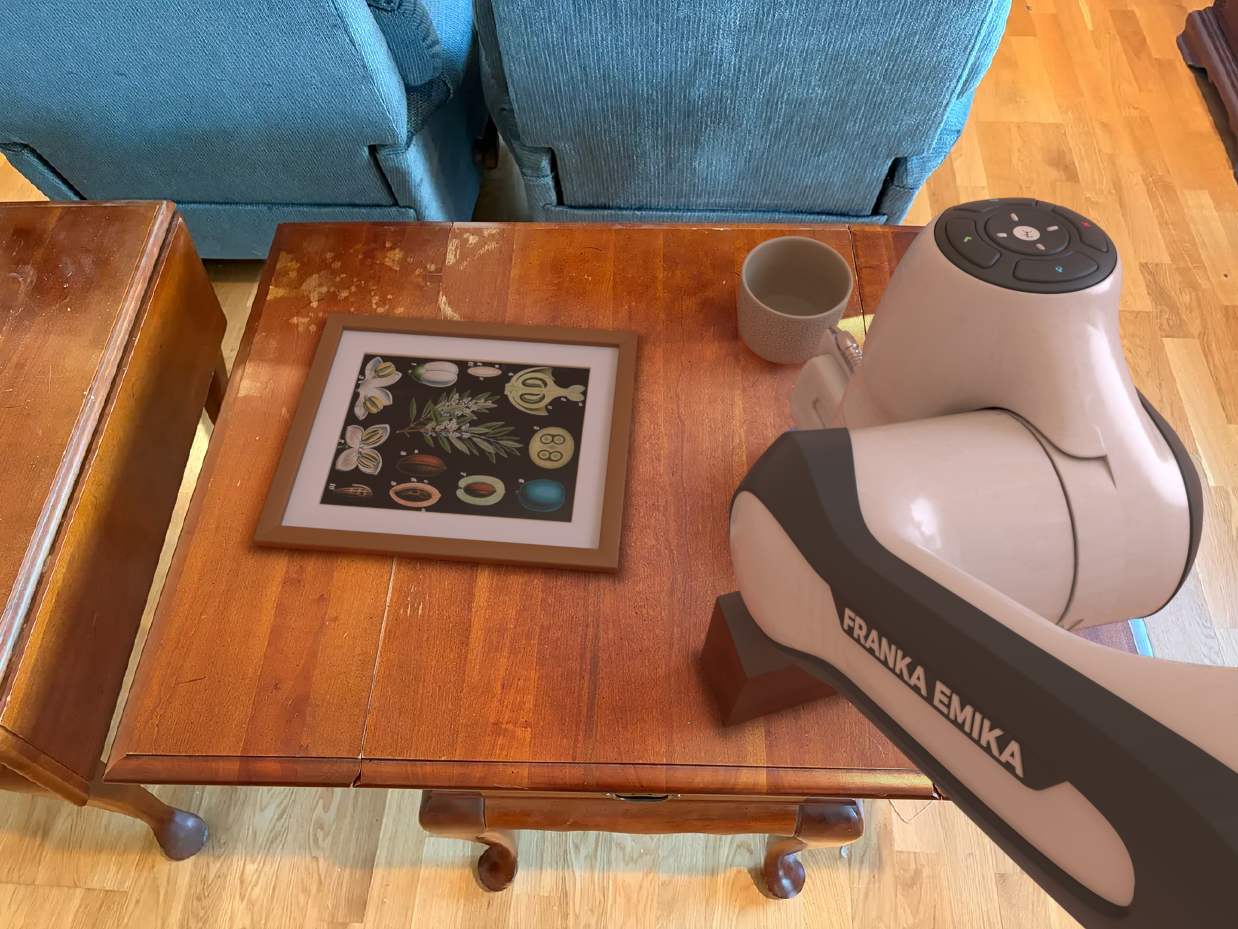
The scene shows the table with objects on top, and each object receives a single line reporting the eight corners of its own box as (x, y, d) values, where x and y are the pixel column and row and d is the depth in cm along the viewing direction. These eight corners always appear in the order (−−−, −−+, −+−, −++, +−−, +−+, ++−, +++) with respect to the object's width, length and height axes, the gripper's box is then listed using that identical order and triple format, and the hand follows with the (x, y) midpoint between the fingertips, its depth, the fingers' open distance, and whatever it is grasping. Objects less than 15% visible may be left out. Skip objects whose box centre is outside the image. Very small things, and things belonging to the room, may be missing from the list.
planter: (709, 341, 102) (718, 278, 93) (770, 284, 107) (785, 219, 97) (792, 397, 98) (810, 337, 88) (852, 335, 102) (875, 272, 93)
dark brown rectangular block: (871, 683, 81) (923, 626, 67) (724, 728, 78) (747, 678, 65) (841, 617, 84) (885, 549, 70) (700, 658, 82) (716, 596, 68)
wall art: (329, 311, 102) (638, 331, 101) (332, 319, 104) (638, 339, 102) (251, 540, 87) (617, 568, 85) (257, 546, 88) (617, 573, 86)
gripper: (786, 321, 52) (755, 443, 63) (943, 627, 41) (871, 703, 53) (880, 299, 52) (832, 423, 64) (1056, 593, 42) (961, 676, 54)
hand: (851, 552), depth 59 cm, fingers closed on pencil, 3 cm apart
